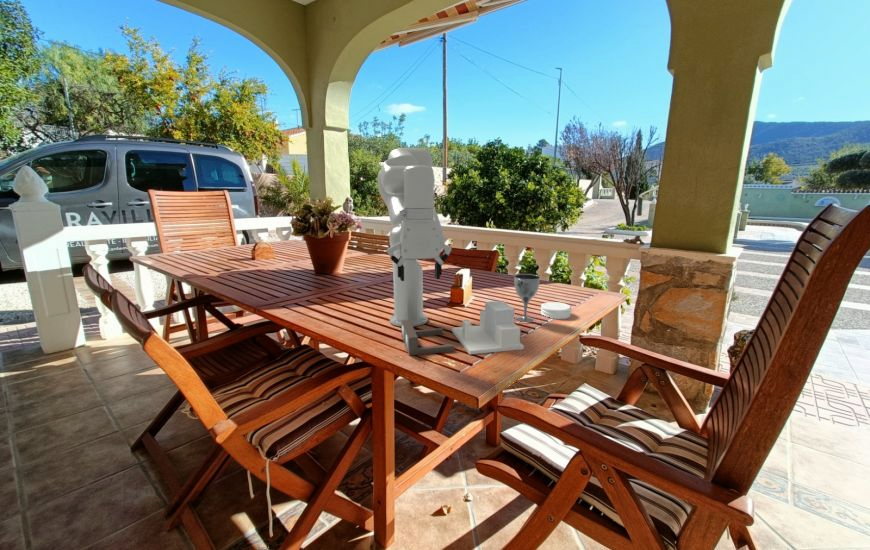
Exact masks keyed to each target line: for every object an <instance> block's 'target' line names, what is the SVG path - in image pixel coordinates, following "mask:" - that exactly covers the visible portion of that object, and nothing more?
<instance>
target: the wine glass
mask: <svg viewBox="0 0 870 550" xmlns="http://www.w3.org/2000/svg"><path fill="white" fill-rule="evenodd" d="M540 280H541V279H540V276H539V275H537V274H532V273H518V274H514V288H515V292H516V293H515V294H516V295H518V297H519V299H520V300H521V301H522V304H523V315H522V316H516V317H514V318H515V320H516V321H520V322H533V321H534V319H535V318H533V317H531V316H527V310H528V305H529V303H530V302H531V300H532V299H534V297H535V296H536V295H537V294H538V291H539V287H540ZM530 317H531V318H530ZM515 320H514V321H515ZM516 321H515V322H516Z"/></svg>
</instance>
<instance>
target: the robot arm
mask: <svg viewBox="0 0 870 550" xmlns="http://www.w3.org/2000/svg"><path fill="white" fill-rule="evenodd" d="M377 187H378V191H379V195H380V196H381V199H382V201H383V202H384V204H385V205H386V208H387V211H388V216H389V221H390V225H391V228H392V229H391V230H390V232H389V239H388V240H389V247H388V248H387V249H386V253H387V254H388V256H389V258H390V259H391V262H392V278H393V280H392V281H393V311H394V312H393V314H392V315H391V316H390V317H389V323H390V324H391V325H393V326H396V327H401V320H410V322H411V324H412V326H413V328H414V327H419V326H422V325H424V324H426V323H427V322H428V320H429V319H428V315H426V314H425V313H424V298H423V297H424V292H423V291H424V285H423V284H424V283H423V281H424V280H423V279H424V278H423V276H424V275H423V272H424V271H423V268H422V265H421V264H420V262H419V261H418V260H432V259H434V260H435V262H434V277H435V278H436V280H440V278H441V276H442V274H443V273H442V269H443V267H442V265H443V264H444V262H445V261H446V260H447V259H448V257H449V256H450V253H451V252H452V247H451V246H449V245H447V244H446V239H445V234H444V231H443V228H442V225H441V221H440V218H439V216H438V212H437V211H436V209H435V208H434V204H435V203H434V202H435V201H434V200H435V199H434V195H435V194H434V193H435V191H434V188H435V173H434V168H433V158H432V154H431V153H430V151H429V150H428V149H426V148H424V147H398V148H394V149H393V150H391V151H390V152H389V154H388V157H387V159H386V160H384V162H383V163H382V164H381V167H380V170H379V172H378V174H377ZM443 250H444V252H443ZM442 252H443V253H442ZM441 253H442V254H441Z"/></svg>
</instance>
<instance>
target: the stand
mask: <svg viewBox="0 0 870 550" xmlns="http://www.w3.org/2000/svg"><path fill="white" fill-rule="evenodd" d="M514 318H515V308H513V306H511V305H509V304H508V303H506V302H505V301H503V300H498V301H497V300H495V301H494V300H493V301H485V302H484V310H479V325H472V322H471V321H470V320H469V319H461V320H462V326H458V327H454V326H453V327H451V332H452V334H453V336H455V337H456V339H457V340H458V341H459V343H460V344H461V346H462V347H463V348H464V349H465V351H466V352H467V353H468V354H469V356H470V355H479V354H487V353H488V354H489V353H499V352H508V351H517V350H519V351H520V350H524V349H525V345H524V344H523V343H522V342H521V327H520V326H518V325H517V324H516V323H515V320H514Z"/></svg>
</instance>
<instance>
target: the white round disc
mask: <svg viewBox="0 0 870 550" xmlns="http://www.w3.org/2000/svg"><path fill="white" fill-rule="evenodd" d="M571 313H572V307H571V305H569V304H567V303H564V302H559V301H556V302H555V301H546V302H544V303H542V304H541V305H540V314H541V315H542V316H543V315H544V316H543V317H545V316H546V317H545V318H547V317H550V318H549V319H552V318H554V319H553V320H564V319H569V318H570V317H571Z"/></svg>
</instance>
